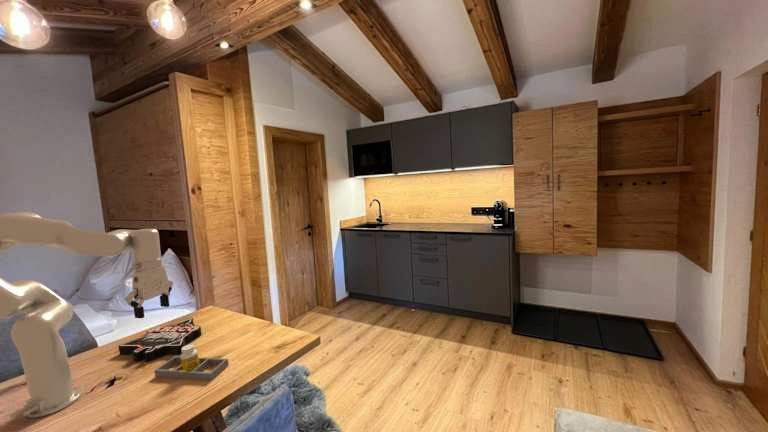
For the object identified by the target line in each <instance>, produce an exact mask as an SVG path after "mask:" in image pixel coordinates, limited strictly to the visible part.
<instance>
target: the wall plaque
mask: <svg viewBox="0 0 768 432" xmlns="http://www.w3.org/2000/svg"><path fill="white" fill-rule="evenodd" d="M201 336H203V335H202V328H201V325H195V324H194V318H193V317H190V318H187V319H184V320H182V321H179V322H176V323H172V324H168V325H158V326H155V327H154V328H152V329H151V328H150V329H148V330H146V333H145V334H143V335H141V336H140V337H139V336H138V337H137V338H134V339H131V340H129V341H126V342H123V343H121V344H119V345H118V352H119V355H120V356H132V358H133V362H135V363H139V362H141V361H143V360H144V362H145V363H150V362H153V361H155V360H157V359H160V358H163V357H164V356H165V357H166V356H172V355H173V356H181V354H182V350H181V349H182V348H183V347H184V346H186V345H189V344H191V343H193V341H194V340H196V339H198V338H199V339H200V337H201Z"/></svg>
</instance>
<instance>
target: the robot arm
mask: <svg viewBox="0 0 768 432" xmlns="http://www.w3.org/2000/svg"><path fill="white" fill-rule="evenodd" d="M23 244H24V245H30V246H31V245H32V246H40V247H46V248H47V247H48V248H49V247H50V248H57V249H59V250H63V251H67V252H69V253H73V254H78V255H85V256H94V257H108V258H109V257H115V256H119V255H120V254H122V253H124V252H126V251H129V250H132V255H133V265H131V268H132V269H133V271H132V272H133V273H132V282H131V283H132V284H131V285H132V291H130V292H129V293H128V294H127V295H126V296H125V297H124V301H125V302H126V303H127V305H128V306H131V308H133V315H134V318H135V319H144V318H145V310H144V306H143V304H144V302H145V301H148V300H150V299H151V300H152V299H154V298H156V297H159V302H160V303H159V305H160V307H162V308H163V307H164V308H168V307H169V308H170V298H169V297H170V296H171V291H172V289H173V286H174V281H172V280H169V279H168V275H167V271H166V268H165V266H164V265H163V264H162V253H161V244H160V234H159V231H158V229H156V228H141V229H125V228H124V229H123V228H121V229H115V230H112V231H108V232H101V231H92V230H87V229H82V228H77V227H75V226H73V225H72V223H70V222H69V221H66V220H60V219H54V218H53V219H51V218H45V217H42V216H40V215H39V214H37V213H35V212H31V211H20V212H9V213H4V214H3V213H2V214H0V254H2V253H4V252H6V251H8V250H10V249H13V248H15V247H16V246H19V245H23ZM20 313H23V314H24V315H22V316H21V317H19V319H17V320H16V321H15V322H14V323H13V326H12V327H11V329H10V335H11V340H12V341H13V344H14V345H15V347H16V349H17V351H18V354H19V356H20V361H21V365H22V367H23V372H24V378H25V381H26V386H27V391H28V394H29V399H27V400H26V401H25V403H26V404H24V405H23V406H22V407H21V408H20V409H17V410H16V411H13V412H12V413H10V414H9V418H10V419H11V420H12V421H14V420H16V419H17V418H20V417H21V416H22V417H25V418H29V419H30V418H31V419H35V418H41V417H44V416H48V415H51V414H54V413H56V412H58V411H61V410H64V409H65V408H66V407H69V406H70V405H72V404H73V403H75V402H76V401H77V400H78V399H79V398H80V397H81V396H82V394H83V391H82V388H81V387H78V386H74V381H73V377H72V376H73V375H72V371H71V367H70V363H69V358H68V353H67V352H68V351H67V348H66V345H65V342H64V340H63V338H62V337H61V335H60V333H59V331H60V330H61V329H62V328H63V327H64V326H66V325H67V324H68V323H69V322H70V321H71V320H72V317H73V316H74V310H73V307H72V306H71V304H70V303H68V302H67V301H66V300H65V299H64V298H62V297H61V296H59V295H58V294H56V293H55V292H54V291H52V290H51V289H50V288H49V287H47V286H45V285H44V284H43V283H41V282H39V281H37V280H32V279H17V280H13V281H10V282H9V281H7V280H6V279H4V278H2V277H0V320H4V319H8V318H12V317H15V316H16V315H18V314H20Z"/></svg>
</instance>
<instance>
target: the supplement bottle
mask: <svg viewBox="0 0 768 432" xmlns="http://www.w3.org/2000/svg"><path fill="white" fill-rule="evenodd" d="M181 350H182V354H181V355H179V356H180V358H181V363H182V369H183V370H187V371H193V370H194V369H195V368H196V367H198V366H199V365H200V364H199V358H198V356H199V352H198V349H196V347H195V345H194V344H191V343H189V344H188V345H186V346H184V347H183V348H182V349H181Z"/></svg>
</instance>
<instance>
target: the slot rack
mask: <svg viewBox="0 0 768 432" xmlns="http://www.w3.org/2000/svg"><path fill="white" fill-rule="evenodd" d="M180 356H181V355H173V357H171V358H170V359H169V360H167V361H166V362H164V363H162V364H161V365H160V366H158V367H157V368H155V369H154V371H153V372H154V377H155V378H167V379H168V378H169V379H180V380H181V379H182V380H195V381H198V380H199V381H210V382H211V381H213V380H214V379H215V378H217V376H218V375H220V373H222V371H224V370H225V369H226V368H227V367H228V366H229V365H230V364H229V359H228V358H219V357H218V358H217V357H205V356H199V355H198V358H199V364H200V365H199V366H198V367H196V368H195V369H194V370H193V371H187V370H183V369H182V363H181V358H180ZM176 364H179V366H178V367H176V368H175V369H171V367H173V366H174V365H176ZM209 366H214V368H213V369H212V370H211V371H210V372H207V371H205V370H206V369H207V368H209ZM215 366H216V367H215Z"/></svg>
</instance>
